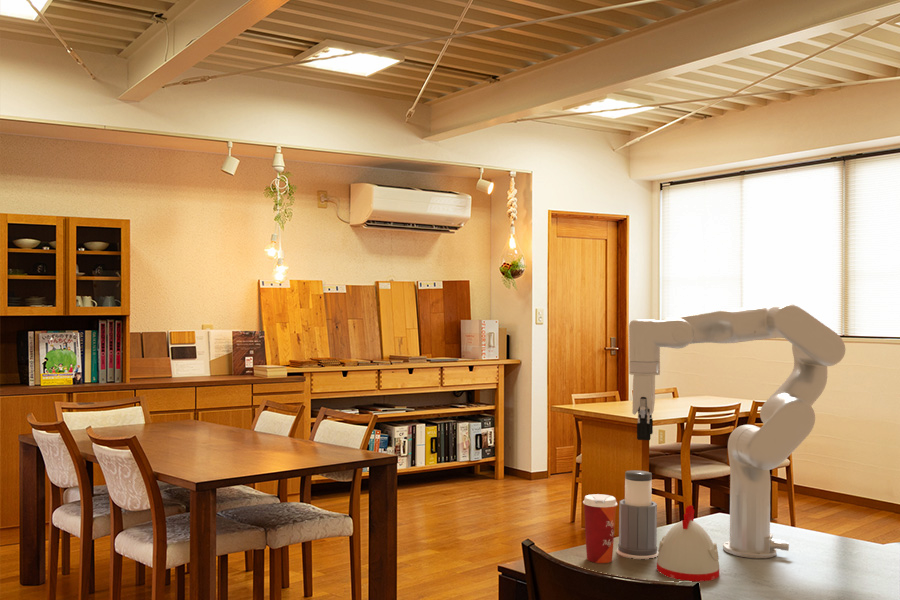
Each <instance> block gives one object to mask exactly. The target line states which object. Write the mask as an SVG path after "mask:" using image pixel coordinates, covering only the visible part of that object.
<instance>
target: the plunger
mask: <svg viewBox="0 0 900 600" xmlns="http://www.w3.org/2000/svg"><path fill="white" fill-rule="evenodd" d="M624 473H625V474H624V499H625V504H627V505H631V506H651V501H652V491H653V490H652V487H653V486H652V483H653V482H652V481H653V479H652V477H653V474H652V472H649V471H648V470H647V471H645V470H637V469H636V470H635V469H634V470H633V469H631V470H626V471H625V472H624Z"/></svg>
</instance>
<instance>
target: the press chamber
mask: <svg viewBox="0 0 900 600" xmlns="http://www.w3.org/2000/svg"><path fill="white" fill-rule="evenodd" d="M618 506H619V511H618V513H619V515H618V518H619V519H618V522H619V523H618V545H617V548H616V553H617V555H619V556H621V557H624V558H625V559H626V558H627V559H631V558H633V560H641V559H645V560H650V559H649V558H653V559H655V558H654V557H656V558H658V557H657V556H658V554H659V552H658V550H659V549H658V547H657V546H658V545H657V537H658V536H657V531H658V530H657V527H658V525H657V524H658V520H657V519H658V513H657V512H658V504H657V503H656V501H653V500H651V506H631V505H627V504H625V498H624V499H621V500H619V505H618Z"/></svg>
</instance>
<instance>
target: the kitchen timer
mask: <svg viewBox="0 0 900 600" xmlns="http://www.w3.org/2000/svg"><path fill="white" fill-rule="evenodd" d="M694 518H695V509H694V505H692V504H691V505H690V504H689V505H687V506H686V507H685V513H684V514H683V519H682V520H681V521H679V522H677V523H675V524H674V525H673V526H671V528H670V529H669V530H668V531H667V533H666V534H665V535H663V536H662V538H661V540H660V541H659V544H658V545H659V547H658V549H657V550H658V557H656V570H657V569H658V570H657V572H658V571H659V572H661V573H662V574H664V575H663V576H665V575H666V576H665V577H667V576H668V577H667V578H670V577H671V578H670V579H674V578H675V580H678V579H680V581H684V580H689V581H688V582H707V581H708V582H709V581H713V580H716V579H717V578H719V577H720V562H719V561H720V560H719V559H720V558H719V557H720V556H719V552H718V547H717V542H715V543H714V542H713V540H712V539H711V537H710V535H709V534H708V532H707V531H706V529H704V527H702V526H701V525H700V524H699V523H698V522H695V521H694ZM659 572H658V573H659ZM661 573H660V574H661ZM662 574H661V575H662Z"/></svg>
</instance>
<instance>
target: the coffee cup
mask: <svg viewBox="0 0 900 600" xmlns="http://www.w3.org/2000/svg"><path fill="white" fill-rule="evenodd" d="M582 503H583V507H584V509H583V510H584V527H585V531H584V532H585V549H586V560H587V561H588V562H591V563H595V564H610V563H611V562H612V561H613V555H614V542H615V541H614V540H615V526H616V511H617V506H618V501H617V499H616V497H615V496H613V495H609V494H600V493H597V494H595V493H593V494H588V495H587V494H586V495H585V496H584V500H583V501H582Z"/></svg>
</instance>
